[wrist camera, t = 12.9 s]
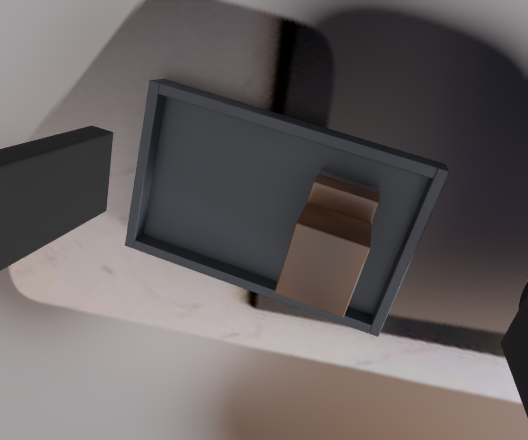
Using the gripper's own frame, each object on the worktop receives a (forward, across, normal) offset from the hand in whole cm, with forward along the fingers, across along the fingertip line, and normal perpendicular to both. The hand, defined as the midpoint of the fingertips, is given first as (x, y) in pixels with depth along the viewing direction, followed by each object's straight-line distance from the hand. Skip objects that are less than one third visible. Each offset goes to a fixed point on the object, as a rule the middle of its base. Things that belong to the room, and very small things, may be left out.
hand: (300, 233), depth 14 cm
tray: (+20, -4, -7) cm, 22 cm away
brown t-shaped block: (+20, +1, -8) cm, 21 cm away
